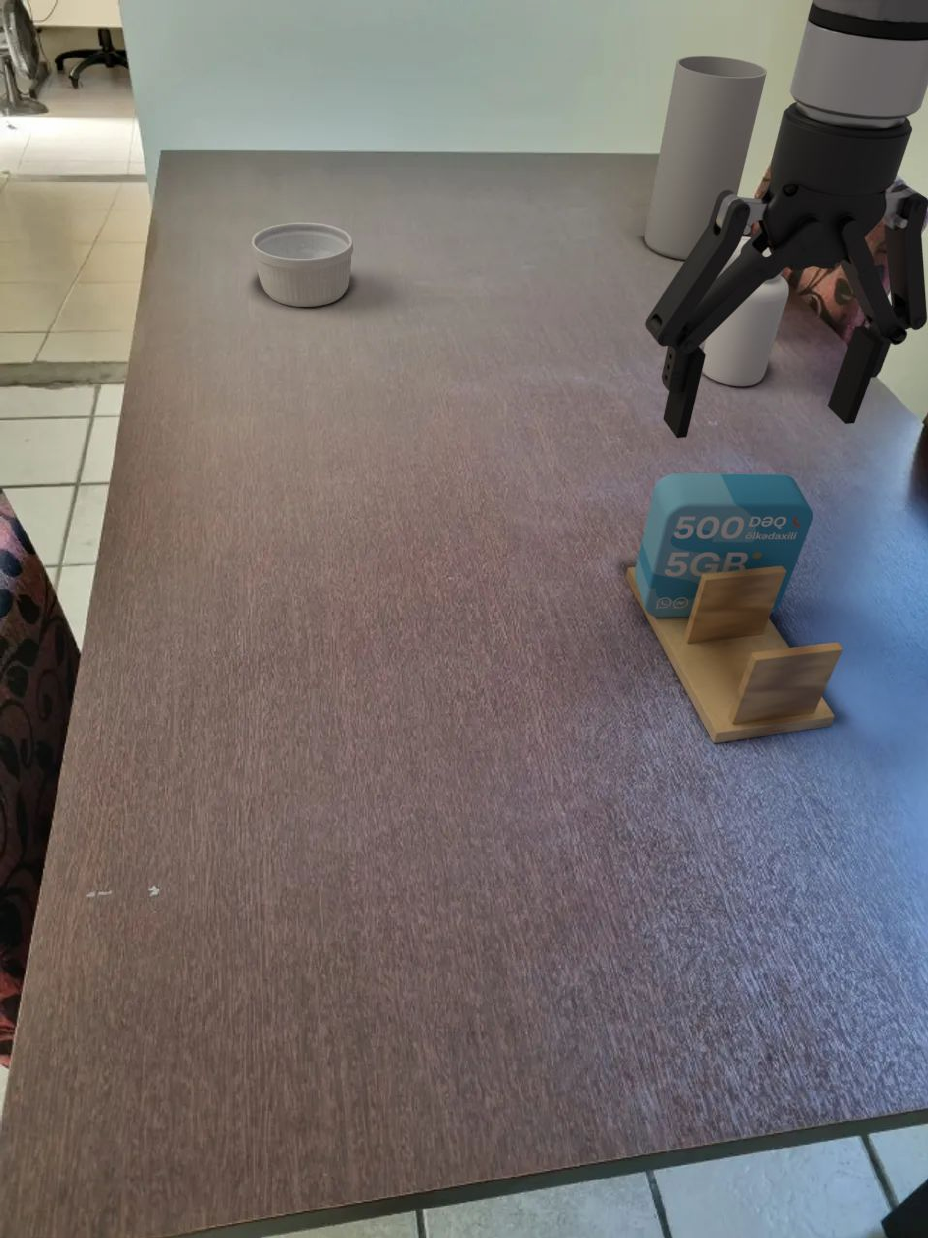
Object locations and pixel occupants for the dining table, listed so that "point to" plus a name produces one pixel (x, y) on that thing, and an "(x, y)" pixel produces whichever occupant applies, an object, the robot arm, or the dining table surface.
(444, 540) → the dining table surface
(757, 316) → the pill bottle
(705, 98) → the cylinder vase
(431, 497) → the dining table surface
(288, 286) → the ramekin
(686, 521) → the data package
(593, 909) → the dining table surface
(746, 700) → the slot rack
